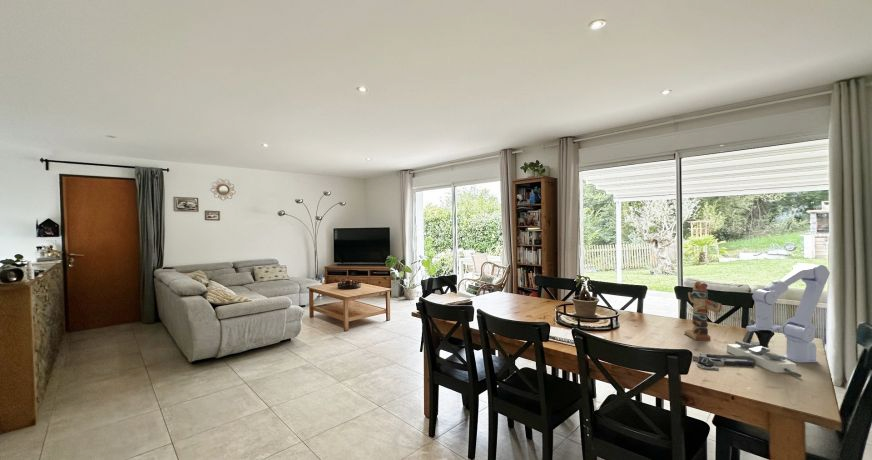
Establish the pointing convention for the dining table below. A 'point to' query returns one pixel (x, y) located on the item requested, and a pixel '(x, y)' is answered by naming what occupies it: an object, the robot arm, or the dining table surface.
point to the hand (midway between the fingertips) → (763, 346)
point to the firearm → (722, 361)
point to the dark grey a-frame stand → (750, 336)
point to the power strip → (764, 360)
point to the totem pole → (701, 311)
